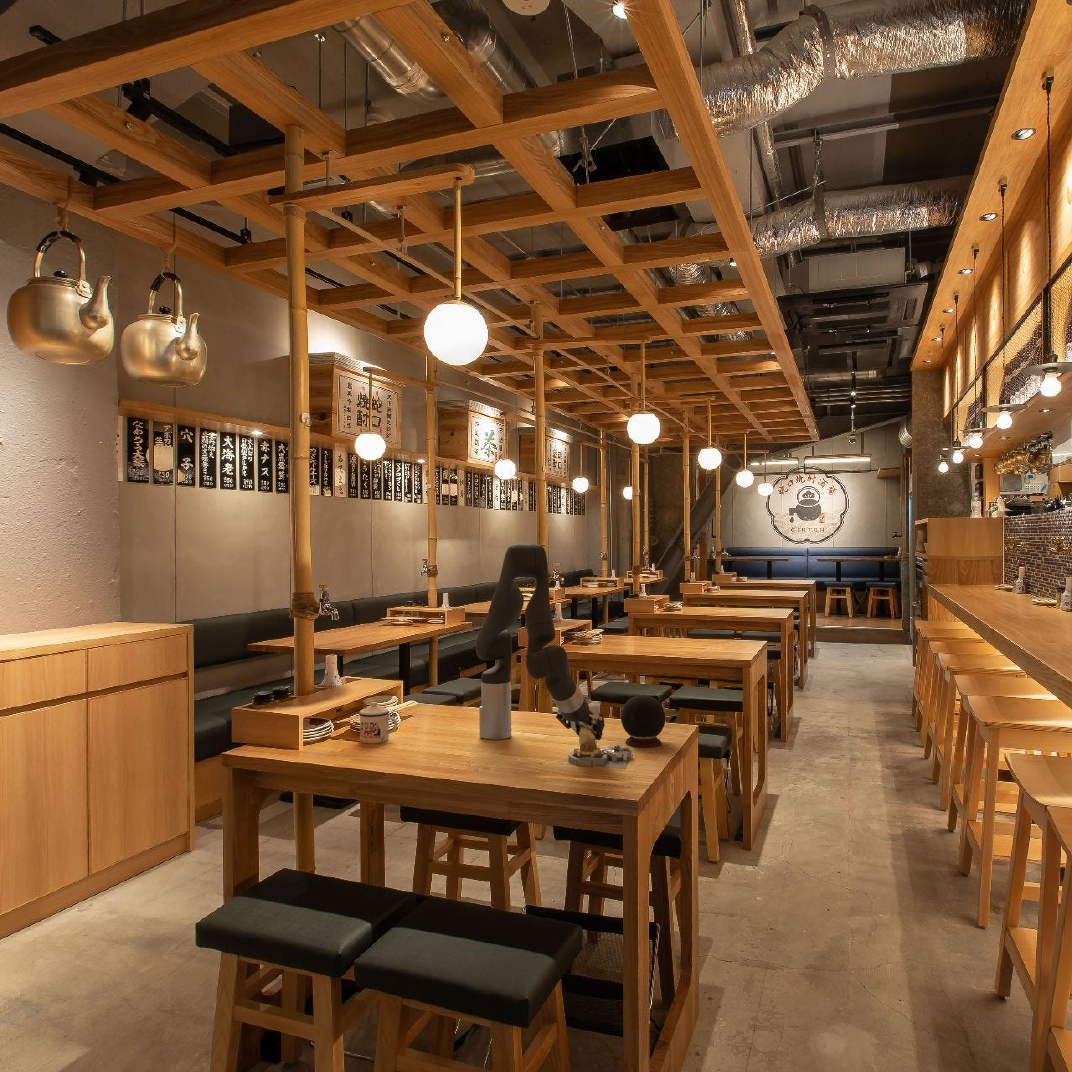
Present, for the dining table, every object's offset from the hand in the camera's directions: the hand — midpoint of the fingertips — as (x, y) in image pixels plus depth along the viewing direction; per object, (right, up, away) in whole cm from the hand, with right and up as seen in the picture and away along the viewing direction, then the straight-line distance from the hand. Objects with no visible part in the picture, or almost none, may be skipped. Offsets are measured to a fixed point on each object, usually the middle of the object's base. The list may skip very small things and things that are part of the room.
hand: (590, 736), depth 211 cm
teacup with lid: (-64, -8, +26) cm, 69 cm away
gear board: (+3, -7, -1) cm, 7 cm away
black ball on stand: (+17, -7, +16) cm, 24 cm away
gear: (+7, -6, +1) cm, 10 cm away
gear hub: (-1, -4, -2) cm, 5 cm away
